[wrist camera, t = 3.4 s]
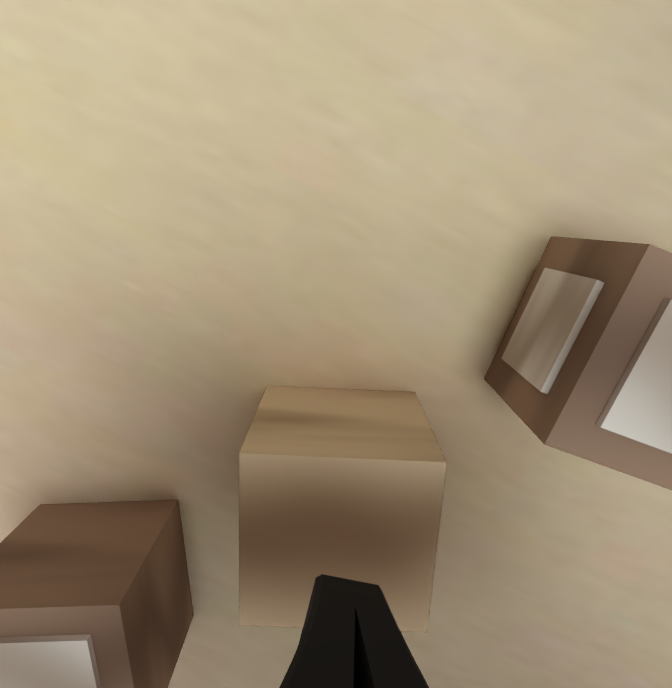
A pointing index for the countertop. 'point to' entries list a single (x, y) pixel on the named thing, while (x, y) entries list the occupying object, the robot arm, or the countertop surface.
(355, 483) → the oak block
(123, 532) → the walnut block
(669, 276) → the walnut block
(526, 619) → the countertop surface
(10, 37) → the countertop surface
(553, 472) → the countertop surface
